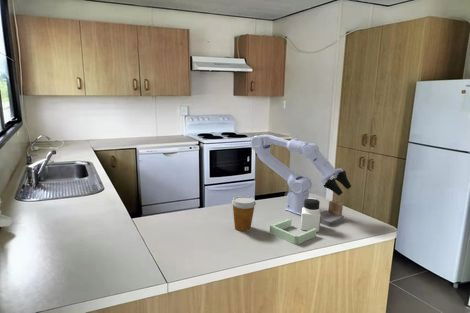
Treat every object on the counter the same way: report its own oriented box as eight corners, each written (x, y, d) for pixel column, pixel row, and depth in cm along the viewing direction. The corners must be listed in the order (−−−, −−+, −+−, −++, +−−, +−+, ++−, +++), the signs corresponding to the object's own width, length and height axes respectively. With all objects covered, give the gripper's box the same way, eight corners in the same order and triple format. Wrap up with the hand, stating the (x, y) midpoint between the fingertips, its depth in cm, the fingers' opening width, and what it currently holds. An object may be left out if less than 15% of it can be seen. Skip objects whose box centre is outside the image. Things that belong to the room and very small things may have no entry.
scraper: (311, 220, 140) (312, 204, 139) (327, 213, 148) (329, 199, 147) (329, 226, 133) (331, 210, 132) (345, 219, 142) (347, 204, 140)
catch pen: (269, 232, 125) (270, 225, 125) (289, 225, 133) (289, 218, 133) (296, 245, 116) (297, 237, 115) (316, 236, 124) (316, 228, 123)
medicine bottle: (319, 232, 128) (321, 203, 125) (300, 230, 129) (303, 201, 127) (318, 225, 135) (320, 197, 132) (300, 223, 136) (302, 196, 134)
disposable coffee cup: (257, 225, 132) (258, 197, 129) (250, 235, 123) (252, 205, 121) (235, 222, 135) (236, 194, 132) (227, 230, 126) (228, 201, 124)
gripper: (320, 166, 132) (343, 192, 128) (338, 156, 142) (359, 180, 138) (310, 175, 137) (332, 201, 133) (328, 165, 147) (348, 188, 143)
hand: (345, 191), depth 136 cm, fingers open, 7 cm apart
